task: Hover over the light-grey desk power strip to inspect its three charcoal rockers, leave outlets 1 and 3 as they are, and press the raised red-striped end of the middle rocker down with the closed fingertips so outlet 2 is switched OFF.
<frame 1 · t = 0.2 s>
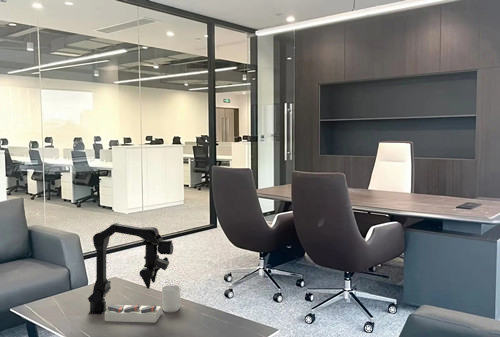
hand: (150, 285, 209), 14 cm above the table, fingers open, 9 cm apart
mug: (172, 309, 217), on the table
rocker 2: (131, 308, 202), point 5 cm above the table, hinge at -14.0°
rocker 3: (148, 309, 202), point 5 cm above the table, hinge at -14.0°
power strip: (133, 317, 205), on the table
rocker 1: (115, 308, 203), point 5 cm above the table, hinge at 14.0°
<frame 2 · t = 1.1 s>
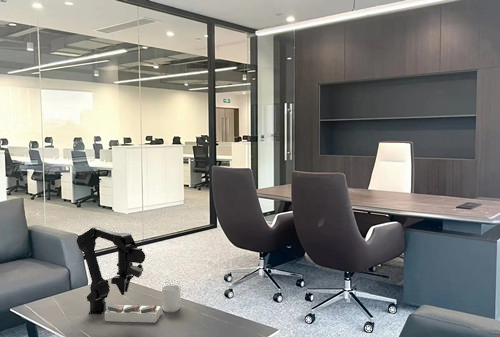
hand: (124, 293, 203), 12 cm above the table, fingers open, 4 cm apart
nothing on the table moved.
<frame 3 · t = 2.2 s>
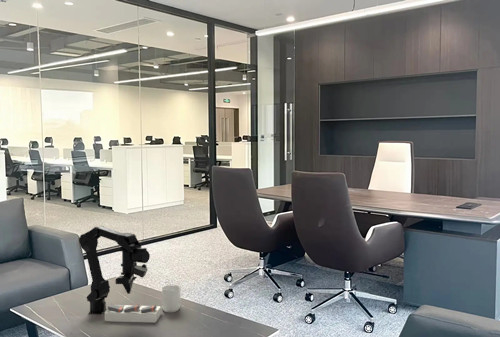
hand: (128, 293, 203), 12 cm above the table, fingers closed
nothing on the table moved.
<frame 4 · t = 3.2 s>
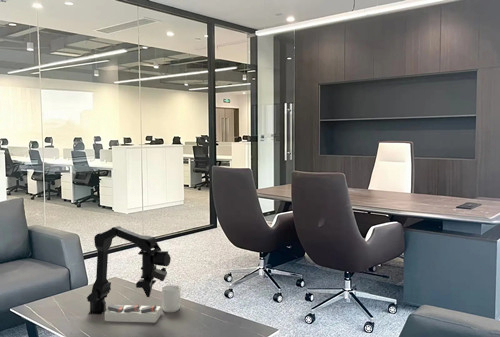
hand: (148, 296, 202), 11 cm above the table, fingers closed
nothing on the table moved.
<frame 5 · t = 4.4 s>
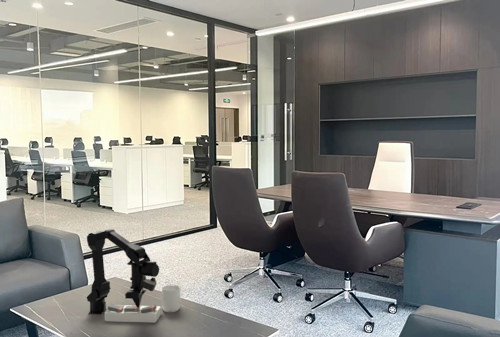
hand: (138, 307, 202), 6 cm above the table, fingers closed, pressing on rocker 2
rocker 2: (132, 308, 202), point 5 cm above the table, hinge at -2.0°, touching gripper
everything else where it was.
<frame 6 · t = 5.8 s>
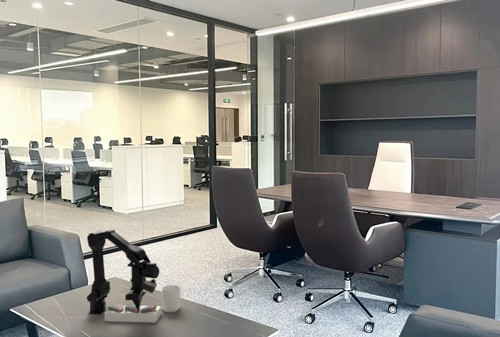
hand: (138, 308, 202), 5 cm above the table, fingers closed
rocker 2: (132, 308, 202), point 5 cm above the table, hinge at 17.5°
everything else where it was.
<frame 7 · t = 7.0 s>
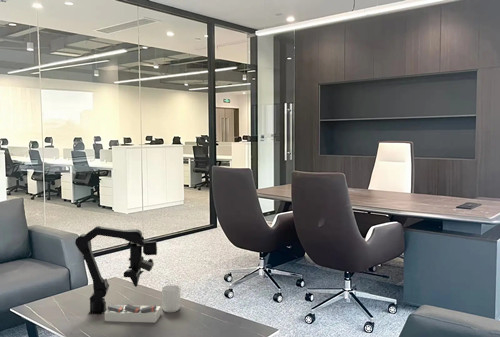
hand: (135, 286, 214), 12 cm above the table, fingers closed
nothing on the table moved.
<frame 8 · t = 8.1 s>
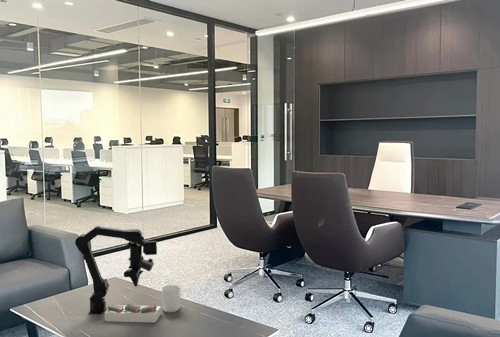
hand: (135, 286, 214), 12 cm above the table, fingers closed
nothing on the table moved.
at the end: rocker 2 at +18° (first picture: -14°); rocker 1 at +14° (first picture: +14°); rocker 3 at -14° (first picture: -14°) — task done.
